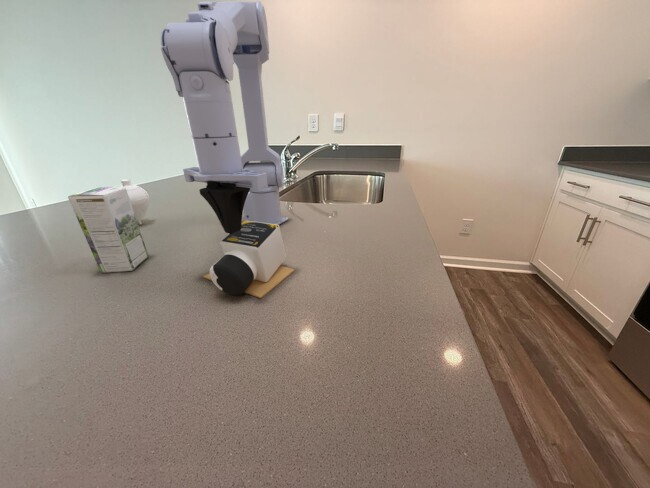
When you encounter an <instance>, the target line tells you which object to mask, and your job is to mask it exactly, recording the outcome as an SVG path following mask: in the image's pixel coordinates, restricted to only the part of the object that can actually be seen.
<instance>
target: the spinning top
mask: <svg viewBox="0 0 650 488" xmlns="http://www.w3.org/2000/svg"><path fill="white" fill-rule="evenodd" d="M120 183H121V186H120V187H123V188H126V190H127V193H128V196H129V199H130V202H131V205H132V208H133V211H134V214H135V217H136V220H137V222H138V224H139V225H142V224H143V223H142V221H143V219H144V217H145V216H146V213H147V211H148V208H149V205H150V200H151V199H150V195H149V193H148V192H147V190H145V189H144V188H142V187H141V186H140V185H135V184H132V182H131V180H130V179H121V180H120Z"/></svg>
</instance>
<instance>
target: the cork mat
mask: <svg viewBox="0 0 650 488" xmlns="http://www.w3.org/2000/svg"><path fill="white" fill-rule="evenodd" d="M294 272H295V269H294V268H291V267H287V266H283V265H280V266H279V267H278V268H277V270H276V271H275V272H274V274H273V275H272V276H271V278H270V279H269V280H268V281H267V282H263V281H258V280H254V281H253V282H252V283H251V284H250V285H249V287H248V288H247V289H246V290H245V291H244V293H243V294H248V295H250V296H253V297H255V298H258V299H263V298H264V297H265V296H266V295H268V293H270V292H271V291H272V290H273V289H275V288H276V287H277V286H278V285H279V284H281V283H282V282H283V281H284V280H286V279H287V278H288V277H289V276H290V275H292V274H293V273H294ZM202 277H203V279H206V280H208V281H211V282H213V281H212V280H211V278H210V272H208V273H207V274H205V275H203V276H202Z"/></svg>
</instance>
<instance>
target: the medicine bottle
mask: <svg viewBox="0 0 650 488" xmlns="http://www.w3.org/2000/svg"><path fill="white" fill-rule="evenodd" d="M219 245H220V248H221V250H222V253H223V254H224V255H222V256H221V257H220V258H219V259H218V260H217V261H216V262H214V264H213V265H211V267H210V268H209V273H210V278H211V280H212V281H211V280H210V281H211V282H212V283H213V284H214V285H215V287H217V288H218V289H219V290H220V291H222V292H224V293H225V294H226V295H229V296H236V297H238V296H241V295H243V294H245V293H244V291H245V290H246V289H247V288H248V287H249V285H250V284H251V283H252V282H253V281H254V280H258V281H263V282H267V281H268V280H269V279H270V278H271V276H272V275H273V274H274V272H275V271H276V270H277V268H278V267H279V266H282V263H283V262H284V261H285V259H286V258H287V253H286V249H285V248H286V247H285V245H284V241H283V235H282V231H281V227H280V224H279V225H277V224H269V223H261V222H253V221H245V220H244V221H242V222H241V230H239V231H237V232H235V233H233V234H229V233H228V234H227V236H225V237H224V238H223V239H222V240H221V241H220V242H219Z"/></svg>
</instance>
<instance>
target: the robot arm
mask: <svg viewBox="0 0 650 488" xmlns="http://www.w3.org/2000/svg"><path fill="white" fill-rule="evenodd" d="M197 8H198V10H197V11H190V12H189V13H188V14H187V17H188V18H187V19H186V20H185V21H184V22H181V21H180V22H168V23H167V24H166V26H165V28H162V30H161V32H160V45H161V46H160V51H161V54H162V57H163V60H164V62H165V65H166V67H167V69H168V71H169V73H170V75H171V76H172V80H173V83H174V87H175V91H176V92H177V96H178V97H180V98H182V101H183V104H184V110H185V114H186V118H187V123H188V127H189V131H190V137H191V140H192V145H193V148H194V153H195V157H196V162H197V166H198V167H197V166H192V167H188V168H182V171H183V176H184V180H185V182H186V183H194V182H197V183H203V184H206V185H205V187H202V188H200V189H199V191H198V192H199V194H200V196H201V197H202V198H203V199H204V200H205V201H206V202H207V203H208V205H209V206H210V207H211V209H212V210H213V212H214V213H215V215H216V217H217V219H218V221H219V223H220V225H221V227H222V229H223V231H224V233H226V234H228V235H229V234H233V233H235V232H237V231H239V230H241V224H242V223H243V216H244V221H253V222H261V223H269V224H277V225H279V226H280V225H281V224H283V223H286V222H287V221H289V217H286V216H282V208H281V199H280V198H281V197H280V188H282V187H283V186H284V182H285V180H284V178H285V177H284V168H283V163H282V157H281V155H280V154H279V153H278V152H276V151H275V150H274V149H272V148H271V147H270V146H269V139H268V130H267V120H266V109H265V101H264V90H263V81H262V80H263V79H262V72H263V71H262V70H263V64H265V63H266V62H267V61H269V60H270V44H269V43H270V41H269V31H268V22H267V14H266V9H265V6H264V5H263V3H262V2H261V0H256V1H247V0H246V1H245V0H243V1H242V0H239V1H237V0H236V1H235V0H234V1H232V0H231V1H199V2H198V3H197ZM234 66H235V67H236V69H237V71H238V79H239V86H240V93H241V101H242V109H243V117H244V124H245V131H246V139H247V147H248V149H247V150H246V151H244V153H242V154H241V149H240V143H239V137H238V129H237V124H236V117H235V110H234V103H233V99H232V91H231V86H230V83H229V82H231V81H233V80H234Z"/></svg>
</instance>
